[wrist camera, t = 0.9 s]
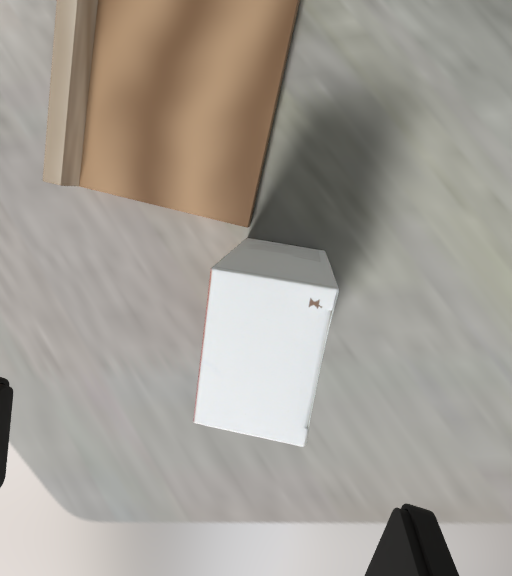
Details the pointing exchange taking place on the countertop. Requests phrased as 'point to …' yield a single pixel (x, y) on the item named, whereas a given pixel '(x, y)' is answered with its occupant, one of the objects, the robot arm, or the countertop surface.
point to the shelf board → (167, 99)
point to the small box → (265, 340)
